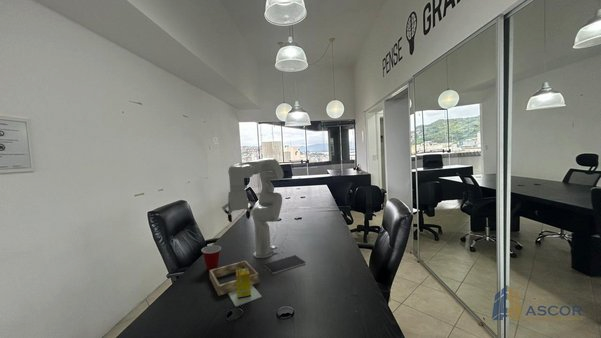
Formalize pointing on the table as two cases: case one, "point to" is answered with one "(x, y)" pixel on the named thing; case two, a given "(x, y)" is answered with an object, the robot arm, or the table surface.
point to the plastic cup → (211, 256)
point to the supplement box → (243, 283)
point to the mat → (237, 302)
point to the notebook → (284, 264)
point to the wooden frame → (227, 270)
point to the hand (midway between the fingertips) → (239, 220)
